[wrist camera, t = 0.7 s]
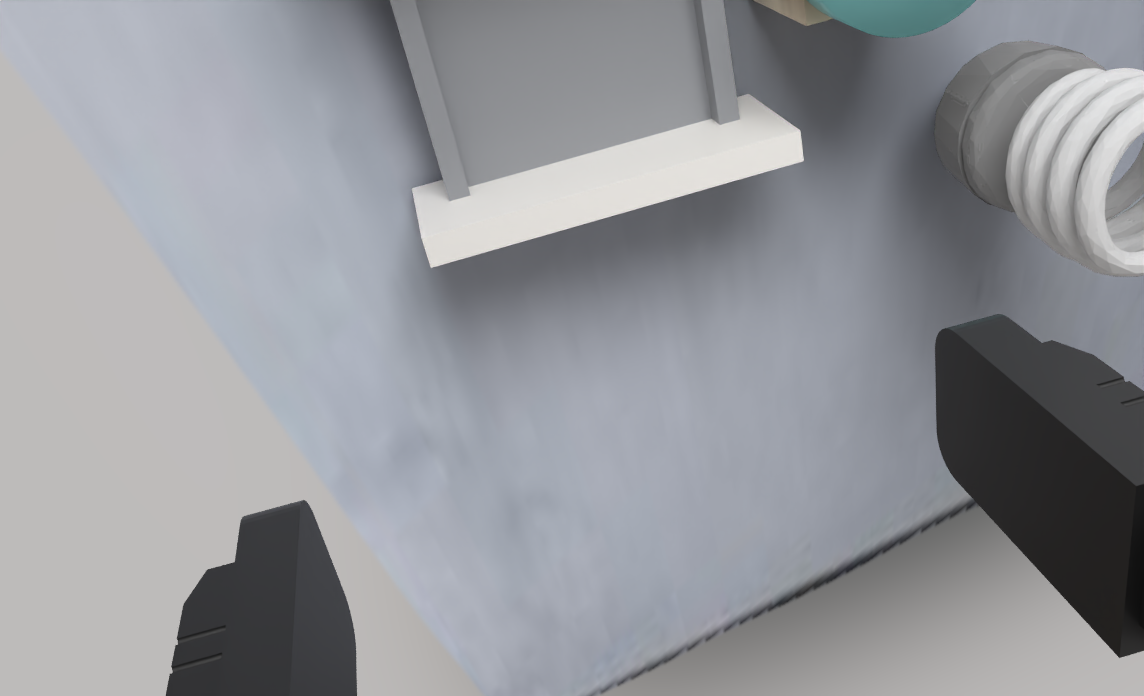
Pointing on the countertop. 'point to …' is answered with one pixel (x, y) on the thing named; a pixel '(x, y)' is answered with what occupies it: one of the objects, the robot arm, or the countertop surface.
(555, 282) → the countertop surface
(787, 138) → the tray
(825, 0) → the teal shallow dome
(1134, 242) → the light bulb
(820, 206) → the countertop surface
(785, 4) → the beige cube block
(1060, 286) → the countertop surface
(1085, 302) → the countertop surface
